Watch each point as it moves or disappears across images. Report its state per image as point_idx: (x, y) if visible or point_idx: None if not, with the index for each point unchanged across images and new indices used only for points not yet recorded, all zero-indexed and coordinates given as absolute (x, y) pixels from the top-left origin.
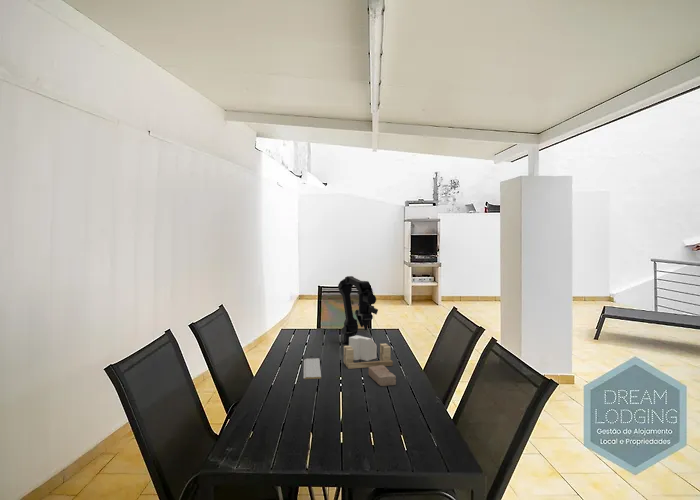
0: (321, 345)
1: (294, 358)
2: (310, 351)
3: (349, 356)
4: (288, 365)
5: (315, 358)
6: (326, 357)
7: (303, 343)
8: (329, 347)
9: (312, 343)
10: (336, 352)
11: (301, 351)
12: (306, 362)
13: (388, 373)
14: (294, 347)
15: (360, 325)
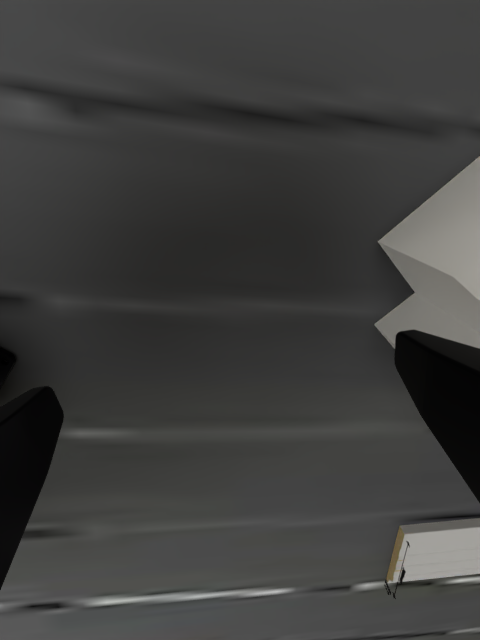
0: (74, 538)
1: (345, 610)
2: (223, 573)
3: None
4: (445, 613)
5: (402, 549)
6: (362, 498)
7: (40, 617)
8: (124, 496)
9: (29, 582)
10: (257, 454)
11: (221, 604)
12: (460, 573)
13: None
14: (138, 636)
15: (51, 457)
